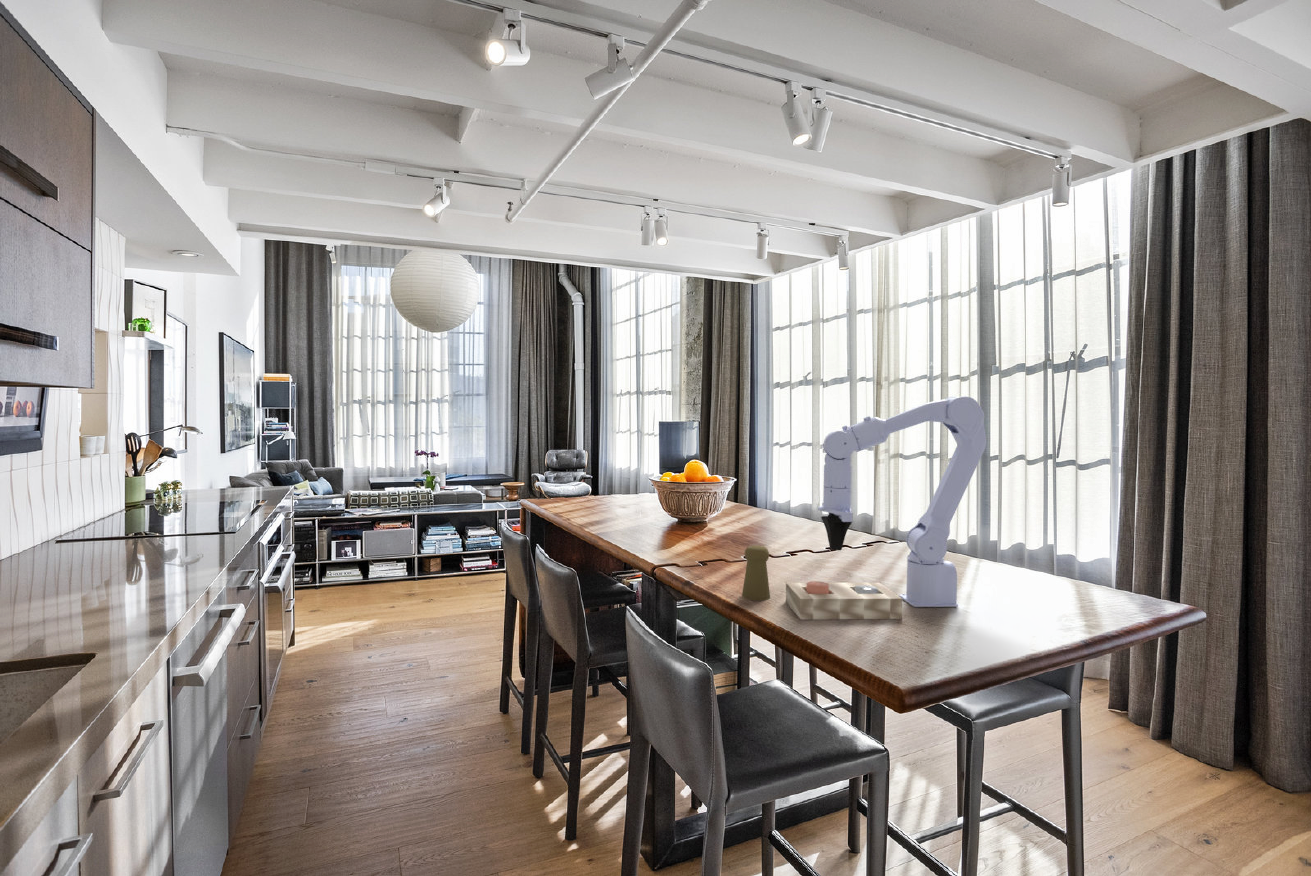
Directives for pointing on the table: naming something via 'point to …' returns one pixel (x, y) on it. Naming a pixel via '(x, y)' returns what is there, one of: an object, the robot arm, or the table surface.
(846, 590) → the button board
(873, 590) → the steel plunger
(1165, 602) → the table surface
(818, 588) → the pink rounded cube
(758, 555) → the olive pawn
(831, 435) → the robot arm
